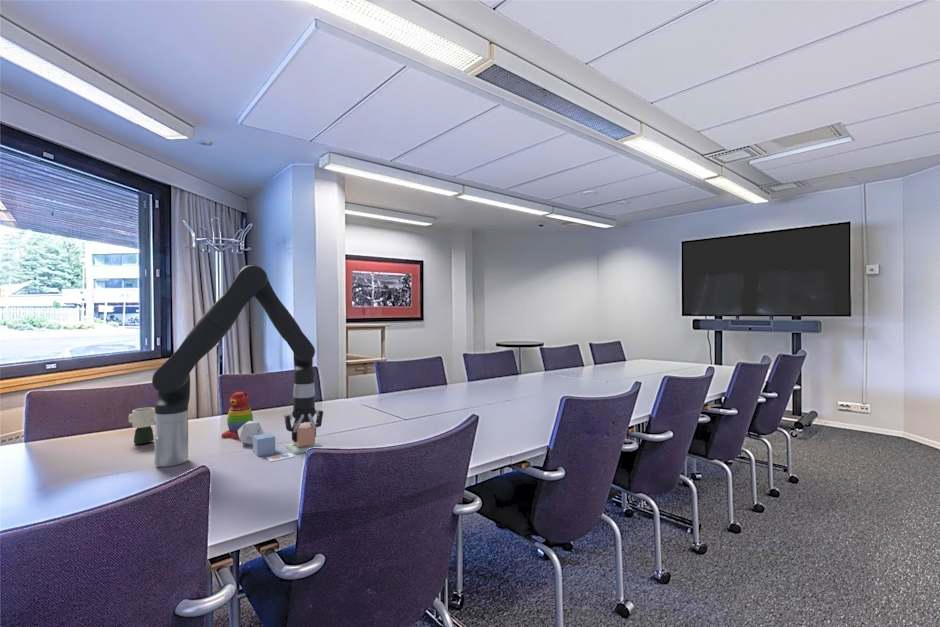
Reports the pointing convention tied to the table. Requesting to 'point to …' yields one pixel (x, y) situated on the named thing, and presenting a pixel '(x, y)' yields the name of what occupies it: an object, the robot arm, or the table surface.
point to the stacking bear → (237, 414)
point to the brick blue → (263, 444)
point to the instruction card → (280, 457)
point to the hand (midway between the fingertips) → (304, 440)
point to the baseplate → (296, 449)
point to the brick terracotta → (305, 435)
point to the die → (249, 432)
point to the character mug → (143, 424)
